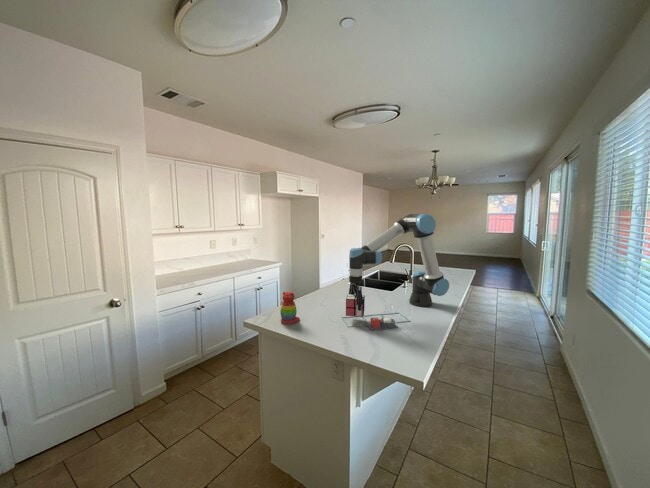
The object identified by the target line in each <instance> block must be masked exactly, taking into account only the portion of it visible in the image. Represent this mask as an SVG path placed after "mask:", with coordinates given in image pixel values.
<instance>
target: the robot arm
mask: <svg viewBox="0 0 650 488" xmlns="http://www.w3.org/2000/svg"><path fill="white" fill-rule="evenodd" d="M436 227H437V223H436V219H435V217H433V216H432V215H430V214H427V213H410V214H407V215H405V216H403V217H401V218H400V219H397V220H396V221H395V222H394V223H393V226H390V228H388V229H387V230H385V231H383V232H381V234H379V235H378V236H376V237H375V238H373V239H372V240H370V241H369V242H367V243H366V244H365V245H363V246H362V247H357V248H356V247H353V248H351V249H350V250H349V254H348V255H349V256H348V257H349V261H348V262H349V269H348V273H349V275H348V278H349V279H348V281H349V289H348V294H355V295H356V300H357V304H356V305H357V306H356V316H361V310H362V305H363V297H362V295H363V291H362V289H363V287H362V286H360V284H361V283H363V274H364V273H363V265H377V264H381V263H382V260H383V255H382V252H381V251H380V250H381V249H382V248H384V247H385V246H387V245H388V244H389V243H391V242H392V241H394V240H395V239H397V238H398V237H399V236H403V235H406V234H407V233H412V234H413V238H414V239H416V240H417V243H418V247H419V251H420V255H421V261H422V264H423V268H424V270H417V271H413V273H412V286H411V287H412V288H411V289H412V290H411V295H410V296H409V299H408V300H409V301H408V303H409V304H410V305H411V306H415V307H420V308H423V307H424V308H428V307H431V306H432V305H433V300H432V296H431V294H432V295H434V296H437V297H442V296H444V295H446V294H447V293H448V291H449V289H450V281H449V280H448V279H446V278H445V277H444V273H443V272H442V271H441V270H440V266H439V262H438V258H437V253H436V250H435V249H436V248H435V245H434V242H433V241H434V240H433V235H434V233H435V232H434V231H435V230H436Z"/></svg>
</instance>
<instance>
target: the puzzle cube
mask: <svg viewBox="0 0 650 488" xmlns="http://www.w3.org/2000/svg"><path fill="white" fill-rule="evenodd" d="M362 297H363V305H362V310H361V316H356V306H357V305H356V304H357V300H356V295H355V294H349V293H348V294H347V296H346V298H345V317H352V316H355V317H354V318H362V317H363V318H364V317H365V316H364V315H365V301H366V299H365V295H364V294H362Z"/></svg>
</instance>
